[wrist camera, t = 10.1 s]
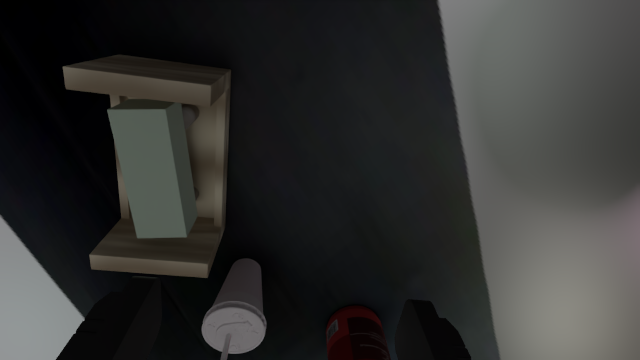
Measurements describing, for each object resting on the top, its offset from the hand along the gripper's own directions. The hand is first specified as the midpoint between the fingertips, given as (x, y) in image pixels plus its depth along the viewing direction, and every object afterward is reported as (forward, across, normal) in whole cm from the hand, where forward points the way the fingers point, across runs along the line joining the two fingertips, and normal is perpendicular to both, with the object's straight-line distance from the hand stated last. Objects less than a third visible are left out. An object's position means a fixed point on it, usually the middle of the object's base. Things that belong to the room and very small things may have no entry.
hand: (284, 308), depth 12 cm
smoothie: (+28, +4, +21) cm, 35 cm away
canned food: (+28, -12, +29) cm, 42 cm away
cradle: (+28, +12, +6) cm, 31 cm away
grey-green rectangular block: (+24, +12, +6) cm, 27 cm away
